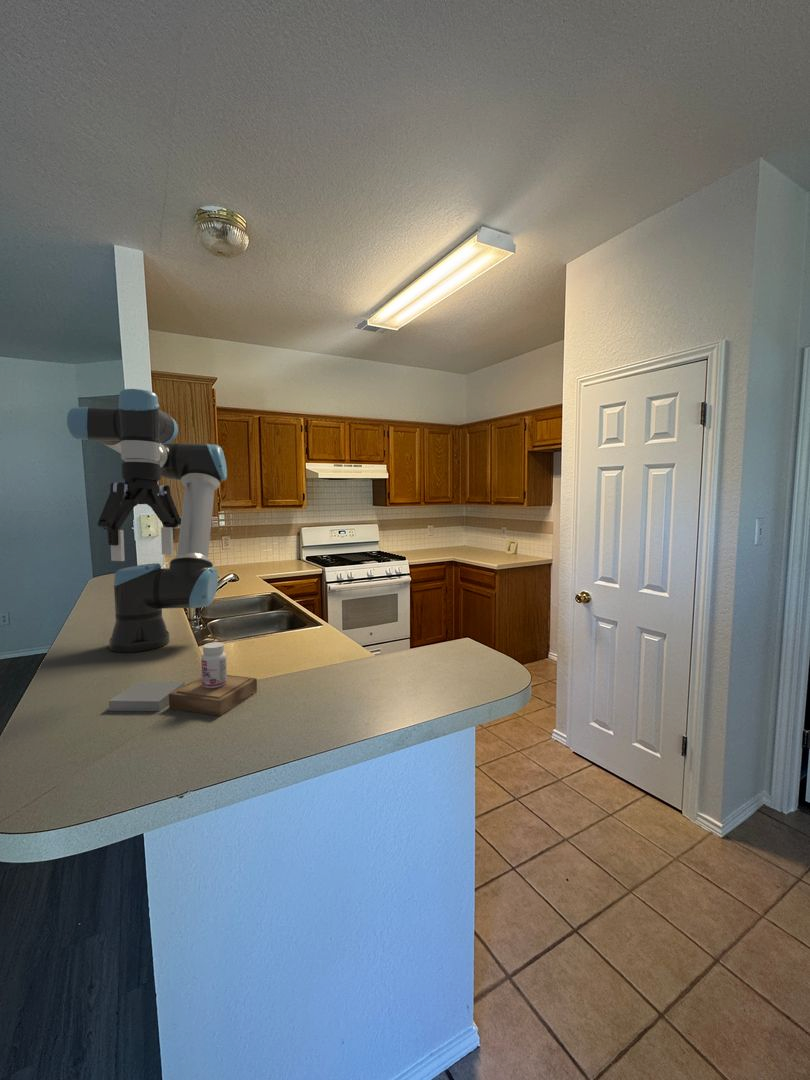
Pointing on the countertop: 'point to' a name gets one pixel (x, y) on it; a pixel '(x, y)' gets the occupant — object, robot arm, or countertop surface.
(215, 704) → the walnut stand
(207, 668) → the pill bottle
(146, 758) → the countertop surface
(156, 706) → the slate tile
